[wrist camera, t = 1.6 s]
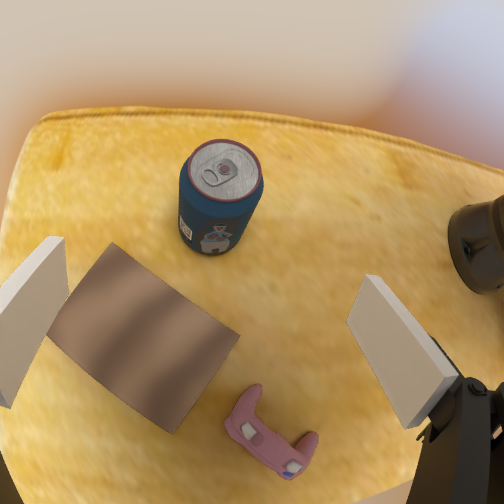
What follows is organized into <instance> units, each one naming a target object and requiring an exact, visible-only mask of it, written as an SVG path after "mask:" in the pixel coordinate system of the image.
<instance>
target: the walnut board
mask: <svg viewBox="0 0 504 504" xmlns="http://www.w3.org/2000/svg"><path fill="white" fill-rule="evenodd" d="M46 335H47V336H48V337H49V338H50V339H51V340H52V341H53V342H54V343H55V344H56V345H57V346H58V347H59V348H60V349H61V350H62V351H63V352H64V353H65V354H67V355H68V356H69V357H70V358H71V359H72V360H73V361H74V362H75V363H77V364H78V365H79V366H80V367H81V368H82V369H84V370H85V371H86V372H87V373H88V374H89V375H91V376H92V377H93V378H94V379H95V380H97V381H98V382H99V383H100V384H102V385H103V386H104V387H105V388H107V389H108V390H109V391H110V392H112V393H113V394H114V395H116V396H117V397H118V398H120V399H121V400H122V401H124V402H125V403H126V404H128V405H129V406H130V407H132V408H133V409H134V410H136V411H137V412H139V413H140V414H142V415H143V416H144V417H146V418H147V419H149V420H150V421H152V422H153V423H155V424H156V425H158V426H159V427H161V428H162V429H164V430H165V431H167V432H169V433H170V434H173V433H174V431H175V430H176V429H177V427H178V426H179V424H180V423H181V422H182V420H183V419H184V417H185V416H186V415H187V413H188V412H189V410H190V409H191V407H192V406H193V405H194V403H195V402H196V400H197V399H198V397H199V396H200V395H201V393H202V392H203V390H204V389H205V387H206V386H207V384H208V383H209V381H210V380H211V379H212V377H213V376H214V374H215V373H216V371H217V370H218V368H219V367H220V365H221V364H222V362H223V361H224V359H225V358H226V356H227V355H228V353H229V352H230V351H231V349H232V348H233V346H234V345H235V343H236V342H237V340H238V339H239V337H240V335H238V334H237V333H235V332H234V331H232V330H231V329H229V328H228V327H226V326H225V325H224V324H222V323H221V322H219V321H218V320H216V319H215V318H213V317H212V316H211V315H209V314H208V313H206V312H205V311H203V310H202V309H201V308H199V307H198V306H196V305H195V304H194V303H192V302H191V301H189V300H188V299H187V298H185V297H184V296H182V295H181V294H180V293H178V292H177V291H176V290H174V289H173V288H172V287H170V286H169V285H167V284H166V283H165V282H163V281H162V280H161V279H159V278H158V277H157V276H155V275H154V274H153V273H151V272H150V271H149V270H148V269H146V268H145V267H144V266H142V265H141V264H140V263H138V262H137V261H136V260H135V259H133V258H132V257H131V256H129V255H128V254H127V253H126V252H124V251H123V250H122V249H121V248H119V247H118V246H117V245H116V244H114V243H113V242H112V243H111V244H110V245H109V246H108V247H107V249H106V250H105V251H104V252H103V254H102V255H101V256H100V257H99V259H98V260H97V261H96V262H95V264H94V265H93V266H92V267H91V269H90V270H89V271H88V273H87V274H86V275H85V276H84V278H83V279H82V280H81V282H80V283H79V284H78V286H77V287H76V288H75V290H74V291H73V292H72V294H71V295H70V296H69V298H68V299H67V301H66V302H65V303H64V305H63V306H62V308H61V309H60V310H59V312H58V314H57V316H56V317H55V319H54V321H53V323H52V324H51V326H50V328H49V330H48V332H47V334H46Z"/></svg>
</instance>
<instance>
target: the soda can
mask: <svg viewBox="0 0 504 504" xmlns="http://www.w3.org/2000/svg"><path fill="white" fill-rule="evenodd" d="M263 187H264V182H263V176H262V171H261V165H260V162H259V160H258V158H257V157H256V155H255V154H254V153H253V152H252V151H251V150H250V149H249V148H248V147H246V146H245V145H243V144H241V143H239V142H236V141H233V140H228V139H215V140H211V141H208V142H205V143H203V144H202V145H200V146H199V147H198V148H196V149H195V150H194V152H193V153H192V154H191V156H190V157H189V158H188V159H187V160H186V162H185V163H184V165H183V167H182V169H181V172H180V179H179V216H178V226H179V231H180V234H181V236H182V238H183V240H184V241H185V242H186V243H187V245H189V246H190V247H191V248H192V249H194V250H196V251H198V252H200V253H204V254H210V255H213V254H220V253H224V252H226V251H228V250H230V249H231V248H233V247H234V246H235V245H236V244H237V243H238V241H239V240H240V238H241V236H242V234H243V232H244V230H245V228H246V226H247V224H248V222H249V220H250V218H251V216H252V214H253V212H254V210H255V208H256V206H257V204H258V202H259V200H260V198H261V196H262V193H263Z"/></svg>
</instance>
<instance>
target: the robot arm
mask: <svg viewBox="0 0 504 504" xmlns="http://www.w3.org/2000/svg"><path fill="white" fill-rule="evenodd" d="M448 236H449V245H450V250H451V254H452V258H453V261H454V263H455V266H456V268H457V270H458V272H459V274H460V276H461V278H462V279H463V281H464V282H465V283H466V284H467V286H468V287H469V288H470V289H472V290H473V291H474V292H476V293H478V294H483V295H485V294H489V293H491V292H494V291H497V290H498V289H500V288H501V287H502V286H503V285H504V195H502V196H500V197H499V198H497V199H496V200H494V201H490V202H484V203H479V204H475V205H467V206H465V207H463V208H461V209H460V210H458V211H457V212H455V213H454V214H453V216H452V218H451V220H450V223H449V231H448ZM68 295H69V288H68V279H67V269H66V257H65V241H64V237H57V236H48V237H47V238H46V239H45V240H44V241H43V242H42V243H41V244H40V245H39V246H38V247H37V248H36V249H35V250H34V251H33V252H32V253H31V254H30V255H29V256H28V257H27V258H26V259H25V260H24V261H23V263H22V264H21V265H20V266H19V267H18V268H17V269H16V270H15V271H14V272H13V273H12V275H11V276H10V277H9V278H8V279H7V280H6V281H5V282H4V284H3V285H2V286H1V287H0V406H3V407H6V408H9V409H11V406H12V404H13V402H14V399H15V397H16V395H17V392H18V390H19V388H20V386H21V384H22V381H23V379H24V377H25V375H26V373H27V371H28V369H29V367H30V365H31V363H32V361H33V359H34V357H35V355H36V353H37V351H38V349H39V347H40V345H41V343H42V341H43V339H44V337H45V335H46V334H47V332H48V330H49V328H50V326H51V324H52V323H53V321H54V319H55V317H56V316H57V314H58V312H59V310H60V309H61V307H62V305H63V303H64V302H65V300H66V298H67V297H68ZM346 324H347V325H348V327H349V329H350V331H351V332H352V334H353V336H354V338H355V339H356V341H357V343H358V345H359V346H360V348H361V350H362V352H363V354H364V355H365V357H366V359H367V361H368V363H369V364H370V366H371V368H372V370H373V372H374V374H375V375H376V377H377V379H378V381H379V383H380V385H381V386H382V388H383V390H384V392H385V394H386V396H387V398H388V400H389V401H390V403H391V405H392V407H393V409H394V411H395V413H396V415H397V417H398V419H399V421H400V422H401V424H402V426H403V428H404V429H408V428H413V427H417V426H419V425H420V424H421V423H422V422H423V421H424V419H425V418H426V417H427V416H428V417H429V418H430V420H431V422H430V423H429V424H428V425H427V426H426V428H425V429H424V430H423V431H422V432H421V433H420V434H419V435H418V437H417V439H416V440H417V441H418V440H419V439H420V438H421V437H422V436H424V440H423V441H422V443H423V445H422V449H421V454H420V458H419V462H418V465H417V469H416V473H415V476H414V480H413V483H412V486H411V490H410V493H409V496H408V499H407V502H406V504H504V382H502V383H501V384H500V385H499V387H498V388H497V389H496V391H490V390H488V389H487V388H486V386H485V385H484V384H483V383H482V382H481V381H479V380H477V379H475V378H472V377H467V378H464V376H463V375H462V374H461V372H460V371H459V370H458V368H457V367H456V366H455V364H454V363H453V362H452V360H451V359H450V358H449V357H448V356H446V355H447V354H446V353H445V351H444V350H443V349H441V346H440V345H439V344H438V343H437V341H436V340H435V339H434V338H433V337H431V336H430V335H429V334H428V333H426V331H425V330H424V329H423V328H422V326H421V325H420V324H419V323H418V321H417V320H416V319H415V318H414V317H413V315H412V314H411V313H410V312H409V310H408V309H407V308H406V307H405V306H404V304H403V303H402V302H401V301H400V300H399V299H398V297H397V296H396V295H395V294H394V293H393V291H392V290H391V289H390V288H389V287H388V286H387V285H386V283H385V282H384V281H383V280H382V279H381V278H380V276H378V275H369V274H365V277H364V279H363V282H362V284H361V287H360V289H359V292H358V294H357V297H356V299H355V302H354V304H353V307H352V309H351V312H350V314H349V316H348V319H347V321H346ZM500 426H501V427H502V430H503V431H502V432H501V434H499V436H498V437H497V438H495V439H494V438H493V434H494V432H495V431H496V430H497V429H498V428H499V427H500ZM0 504H24V503H23V501H22V499H21V497H20V495H19V493H18V491H17V489H16V487H15V484H14V482H13V480H12V478H11V476H10V473H9V471H8V469H7V466H6V464H5V462H4V459H3V457H2V454H1V451H0Z"/></svg>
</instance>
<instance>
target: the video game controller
mask: <svg viewBox="0 0 504 504" xmlns="http://www.w3.org/2000/svg"><path fill="white" fill-rule="evenodd" d="M261 394H262V386H261V385H260V384H255V385H253V386H251V387H249V388H248V389H247V390H246V391H245V392H244V393H243V394H242V396H241V397H240V398H239V400H238V401H237V403H236V405H235V406H234V408H233V410H232V412H231V414H230V416H229V417H227V418H226V419H225V421H224V426H225V428H226V430H227V432H228V434H229V436H230V437H231V438H232V439H233V440H234V441H236V442H237V443H239V444H240V445H243V446H244V447H245V448H246V449H247V450H248V451H249V452H250V453H251V454H252V455H253V456H254V457H256V458H257V459H258V460H259V461H261V462H262V463H263V464H265V465H266V466H268V467H269V468H271V469H272V470H274V471H276V472H277V474H278V475H279V476H281V477H282V478H284V479H286V480H292V479H293V478H295V477H296V476H298V475H299V474H301V473H302V472H303V471H304V470H305V469H306V467H307V466H308V464H309V462H310V460H311V458H312V455H313V453H314V451H315V449H316V446H317V444H318V434H317V433H316V432H311V433H309V434H307V435H306V436H304V437H303V438H302V439H301V440H300V441H299V442H298V444H297V445H296V446H295V448H292V447H291V446H290V445H289V443H288V442H287V441H286V440H285V438H284V437H282V436H281V435H279V434H278V433H276V432H274V431H272V430H270V429H269V428H267V427H266V425H265V424H264V423H263V421H262V420H261V419H260V418H258V417H257V416H255V414H254V411H255V408H256V405H257V403H258V401H259V398H260V396H261Z"/></svg>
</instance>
